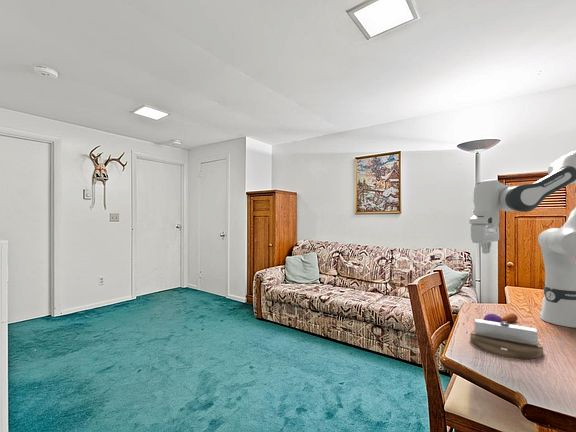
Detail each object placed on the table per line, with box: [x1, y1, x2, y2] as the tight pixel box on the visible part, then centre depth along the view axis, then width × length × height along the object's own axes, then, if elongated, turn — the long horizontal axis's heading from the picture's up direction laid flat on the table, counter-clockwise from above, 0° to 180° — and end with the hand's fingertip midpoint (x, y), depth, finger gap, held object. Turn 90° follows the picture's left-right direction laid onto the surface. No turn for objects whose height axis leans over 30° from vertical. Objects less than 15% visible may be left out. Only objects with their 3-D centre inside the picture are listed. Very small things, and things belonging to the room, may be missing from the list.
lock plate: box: [469, 330, 544, 361], centre depth 103 cm, size 20×20×3 cm
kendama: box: [483, 313, 518, 323], centre depth 122 cm, size 6×6×20 cm
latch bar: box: [474, 318, 539, 346], centre depth 103 cm, size 17×4×5 cm, turn 56°
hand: (486, 253), depth 123 cm, fingers closed
